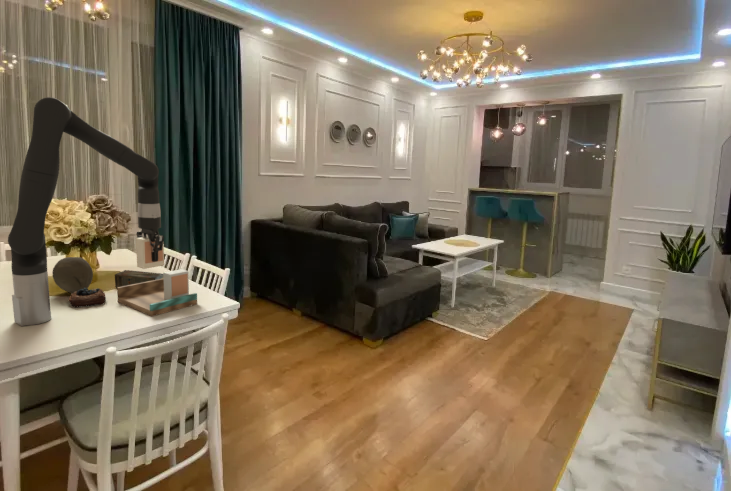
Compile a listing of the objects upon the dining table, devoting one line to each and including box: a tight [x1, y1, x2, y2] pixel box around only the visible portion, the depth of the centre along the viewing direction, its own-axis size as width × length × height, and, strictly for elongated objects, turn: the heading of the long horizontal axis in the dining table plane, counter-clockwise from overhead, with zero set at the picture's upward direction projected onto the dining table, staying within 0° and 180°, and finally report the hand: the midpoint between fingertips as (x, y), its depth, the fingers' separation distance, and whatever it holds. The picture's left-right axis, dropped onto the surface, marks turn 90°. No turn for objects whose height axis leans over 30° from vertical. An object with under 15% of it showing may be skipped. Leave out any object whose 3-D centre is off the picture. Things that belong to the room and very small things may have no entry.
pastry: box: [68, 287, 106, 309], centre depth 162 cm, size 11×12×6 cm
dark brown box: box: [114, 269, 164, 288], centre depth 185 cm, size 8×19×7 cm, turn 86°
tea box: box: [135, 237, 165, 270], centre depth 155 cm, size 8×5×11 cm, turn 149°
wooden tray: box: [116, 278, 198, 317], centre depth 166 cm, size 19×24×6 cm
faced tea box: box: [162, 268, 190, 300], centre depth 166 cm, size 8×5×11 cm, turn 147°
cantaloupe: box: [52, 256, 94, 294], centre depth 171 cm, size 14×14×15 cm
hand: (150, 260), depth 156 cm, fingers closed on tea box, 4 cm apart
